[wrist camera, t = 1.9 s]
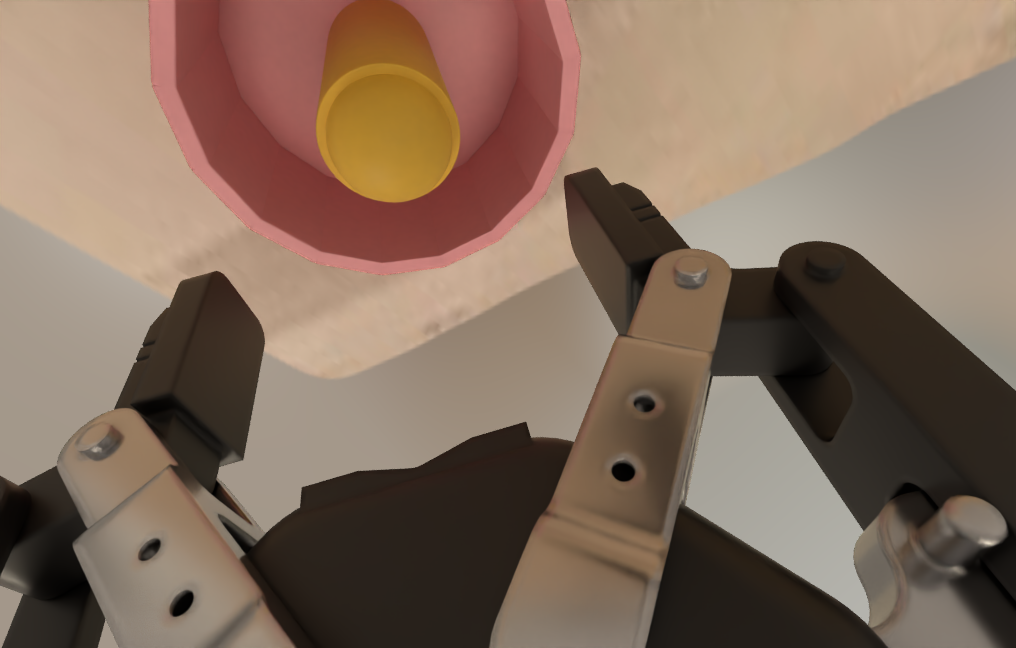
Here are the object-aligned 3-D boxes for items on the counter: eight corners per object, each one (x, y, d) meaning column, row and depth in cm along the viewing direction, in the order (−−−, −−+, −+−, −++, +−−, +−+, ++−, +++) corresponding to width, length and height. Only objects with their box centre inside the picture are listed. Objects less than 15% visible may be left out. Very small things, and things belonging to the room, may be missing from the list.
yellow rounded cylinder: (315, -1, 21) (290, 92, 13) (424, -6, 22) (466, 79, 14) (340, 111, 24) (333, 241, 16) (435, 103, 25) (473, 224, 17)
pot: (131, -163, 17) (32, -169, 12) (534, -162, 20) (602, -167, 14) (268, 207, 27) (247, 293, 22) (526, 179, 29) (563, 252, 24)
